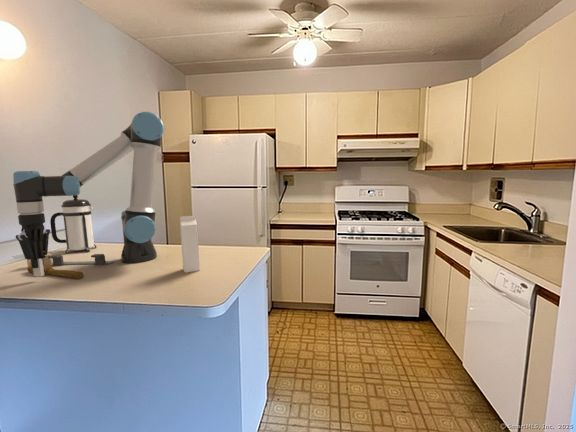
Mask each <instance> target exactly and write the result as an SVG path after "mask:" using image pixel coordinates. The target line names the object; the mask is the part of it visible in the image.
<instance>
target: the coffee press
mask: <svg viewBox="0 0 576 432" xmlns="http://www.w3.org/2000/svg"><path fill="white" fill-rule="evenodd" d="M72 198H73V199H67V200H64V201H63V202H62V204H61V209H62V212H61V211H60V212H56V213H53V214H51V217H50V219H49V220H50V233H51V236H52V239H53V241H54V242H55V243H56V242H57V243H59V244H66V249H65V251H64V253H65V254H67V255H69V254H70V253H71V252H73V251H82V250H83V251H85V253H90V251H91V248H93V249H96V248H97V245H96V244H95V241H94V240H95V239H94V230H93V220H92V210H94V207H93V205H91V203H90V201H89V200H88V199H82V198H81V199H80V198H79V195H72ZM60 216H62V217H63V225H64V233H65V239H60V238H59V237H58V236H57V228H56V218H57V217H60ZM68 250H69V251H68Z"/></svg>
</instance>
